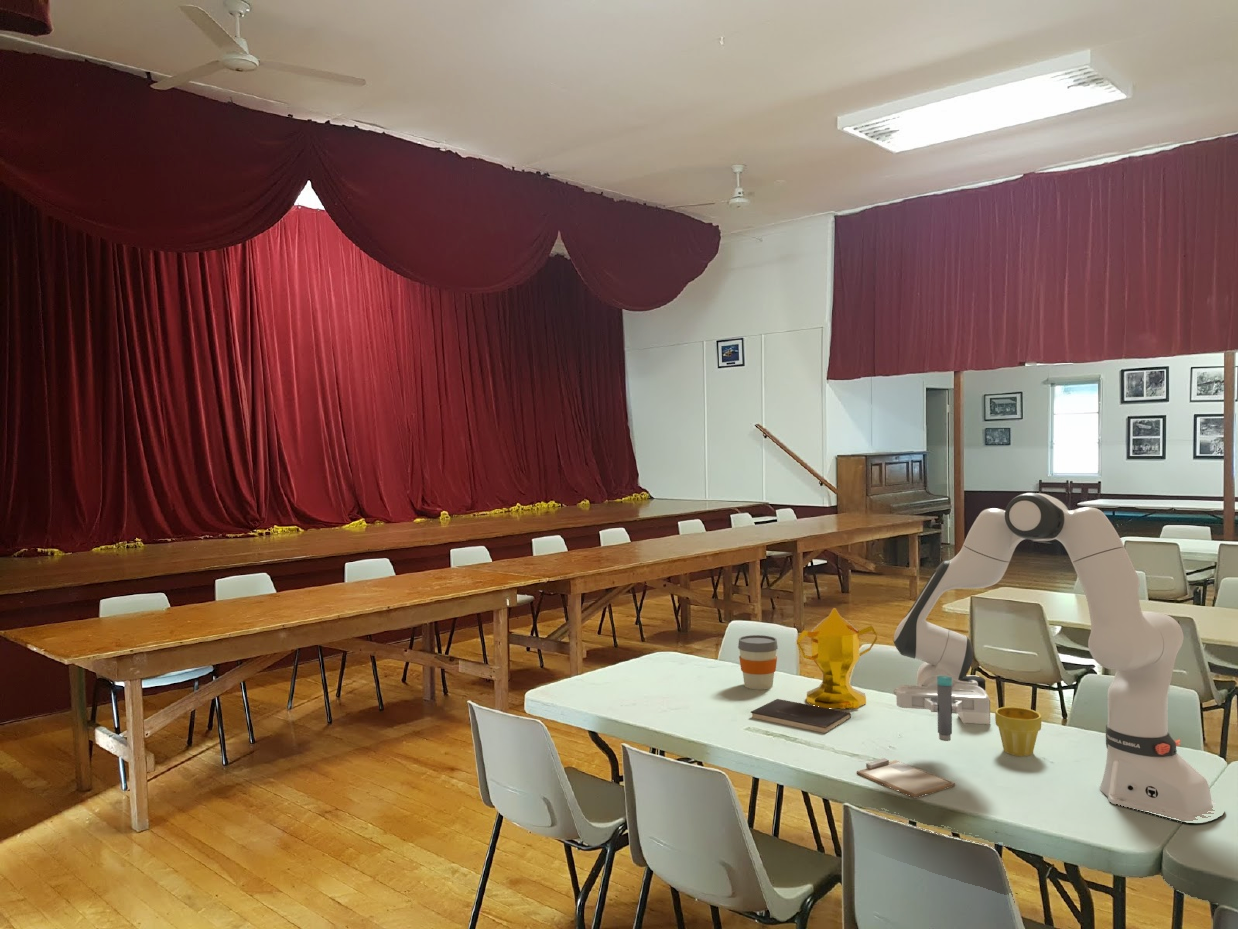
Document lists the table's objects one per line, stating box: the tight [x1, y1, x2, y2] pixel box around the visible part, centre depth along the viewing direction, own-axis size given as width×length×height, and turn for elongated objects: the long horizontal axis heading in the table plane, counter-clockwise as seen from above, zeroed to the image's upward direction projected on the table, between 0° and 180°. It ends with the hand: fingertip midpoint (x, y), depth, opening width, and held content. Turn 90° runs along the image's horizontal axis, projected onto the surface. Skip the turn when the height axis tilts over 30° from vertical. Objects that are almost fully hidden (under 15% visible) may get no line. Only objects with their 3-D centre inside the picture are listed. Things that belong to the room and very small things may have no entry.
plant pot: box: [994, 706, 1042, 757], centre depth 213 cm, size 10×10×10 cm
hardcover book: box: [750, 698, 852, 734], centre depth 243 cm, size 16×23×2 cm
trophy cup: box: [796, 607, 878, 710], centre depth 257 cm, size 18×24×28 cm
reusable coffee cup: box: [737, 634, 779, 691], centre depth 276 cm, size 13×13×15 cm
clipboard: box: [856, 758, 956, 798], centre depth 197 cm, size 17×13×2 cm
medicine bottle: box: [958, 674, 991, 725], centre depth 238 cm, size 7×7×12 cm
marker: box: [937, 676, 953, 742], centre depth 193 cm, size 3×3×14 cm
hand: (944, 709), depth 192 cm, fingers closed on marker, 3 cm apart
